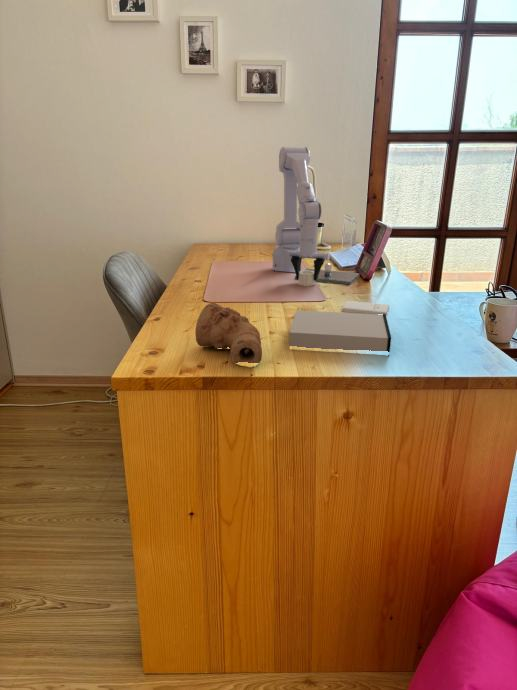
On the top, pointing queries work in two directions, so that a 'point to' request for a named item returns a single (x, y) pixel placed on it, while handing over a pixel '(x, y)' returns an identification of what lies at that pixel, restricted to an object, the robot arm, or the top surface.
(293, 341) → the disc drive
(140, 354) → the top surface
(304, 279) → the ring
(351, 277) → the steel tile with stud
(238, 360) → the clay pipe
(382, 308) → the external hard drive
